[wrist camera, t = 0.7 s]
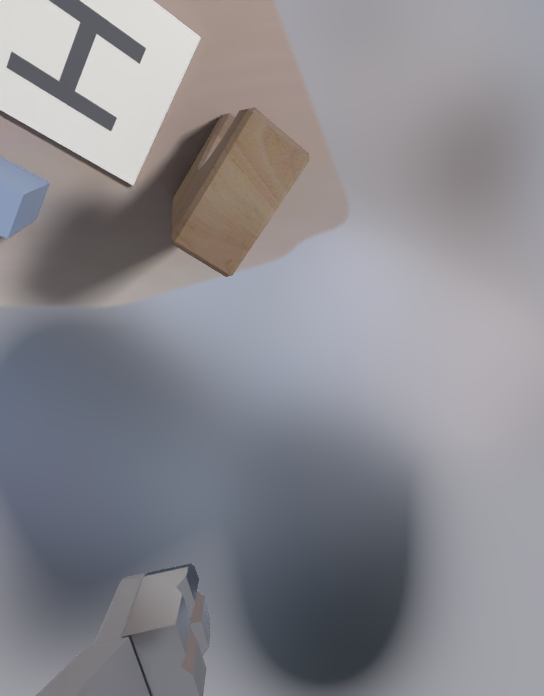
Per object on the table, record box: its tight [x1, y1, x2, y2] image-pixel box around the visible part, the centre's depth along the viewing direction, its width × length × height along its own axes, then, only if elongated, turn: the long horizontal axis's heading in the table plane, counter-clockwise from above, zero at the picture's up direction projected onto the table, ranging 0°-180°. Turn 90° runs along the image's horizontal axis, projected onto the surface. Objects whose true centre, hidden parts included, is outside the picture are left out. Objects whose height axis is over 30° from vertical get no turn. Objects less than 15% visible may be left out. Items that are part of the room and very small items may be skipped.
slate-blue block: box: [0, 157, 50, 239], centre depth 40 cm, size 5×4×9 cm
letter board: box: [0, 0, 201, 185], centre depth 39 cm, size 18×16×1 cm
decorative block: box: [171, 108, 309, 277], centre depth 38 cm, size 11×6×20 cm, turn 143°
